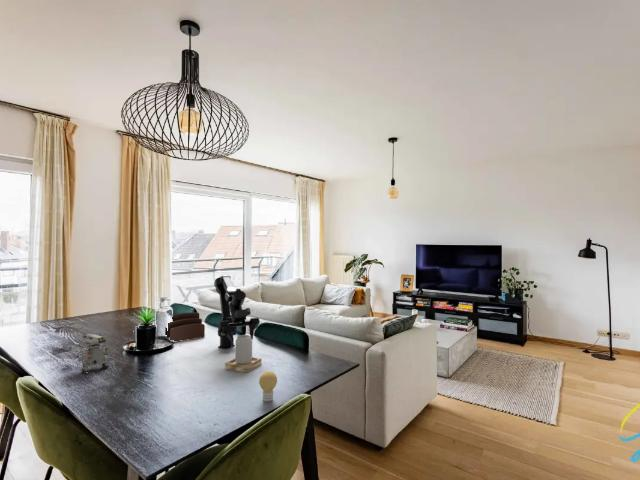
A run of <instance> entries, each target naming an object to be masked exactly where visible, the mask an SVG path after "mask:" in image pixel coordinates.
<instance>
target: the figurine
mask: <svg viewBox="0 0 640 480" xmlns="http://www.w3.org/2000/svg"><path fill="white" fill-rule="evenodd" d="M107 341H108V340H107V337H104V336H102V335H101V334H94V333H86V334H84V335H83V336H82V338H81V339H80V342H81V343H83V344H85V345H87V347H88V348H87V349H86V350H83V352H84V354H83V355H82V356H81V357H80V356H79V355H78V354H77V355H76V358H77V359H78V360H77V362H82V361H83V362H82V367H81V372H82V371H84V372H85V373H86V372H89V367H92V366H97V365H100V364H101V367H102V366H103V367H104V369H105V368H107V369H109V358H108V355H109V353H108V346H106V345H103V346H101V344H103V343H106V342H107ZM103 367H102V368H103Z"/></svg>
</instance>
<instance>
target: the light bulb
mask: <svg viewBox="0 0 640 480" xmlns="http://www.w3.org/2000/svg"><path fill="white" fill-rule="evenodd" d="M258 382H259V383H258V384H259V386H260V388H261V390H262V401H264V402H266V403H268V402H271V401H273V400H274V389H275V387H276V386H277V384H278V376H277V375H276V373H275V372H272V371H264V372H263V373H262V374H261V375H260V376H259V379H258Z"/></svg>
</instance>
